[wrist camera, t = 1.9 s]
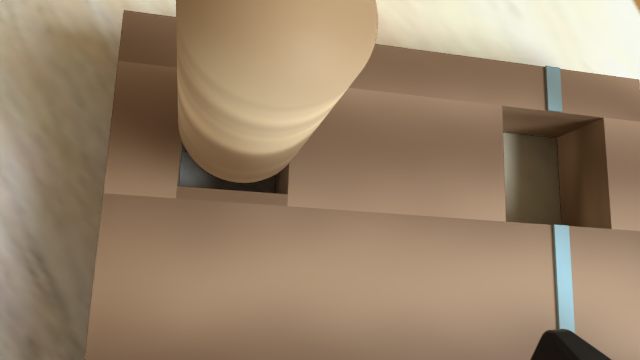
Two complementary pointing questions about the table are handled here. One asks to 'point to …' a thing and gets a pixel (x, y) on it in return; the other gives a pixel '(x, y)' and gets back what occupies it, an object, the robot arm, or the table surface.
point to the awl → (264, 77)
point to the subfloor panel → (372, 220)
